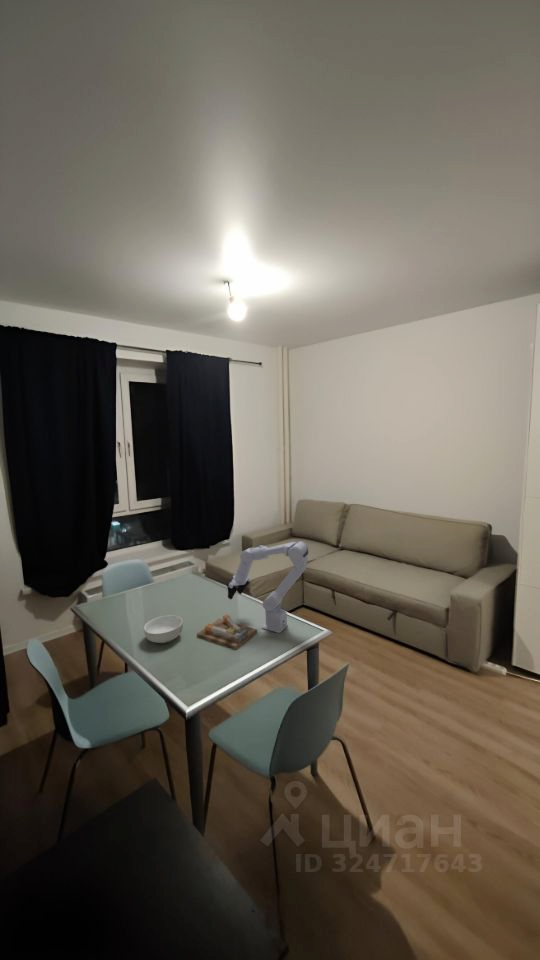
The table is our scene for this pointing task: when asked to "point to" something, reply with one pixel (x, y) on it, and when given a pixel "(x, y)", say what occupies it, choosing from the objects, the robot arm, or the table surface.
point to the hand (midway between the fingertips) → (234, 595)
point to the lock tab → (231, 630)
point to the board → (224, 641)
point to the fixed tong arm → (222, 633)
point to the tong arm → (231, 623)
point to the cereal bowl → (163, 628)
